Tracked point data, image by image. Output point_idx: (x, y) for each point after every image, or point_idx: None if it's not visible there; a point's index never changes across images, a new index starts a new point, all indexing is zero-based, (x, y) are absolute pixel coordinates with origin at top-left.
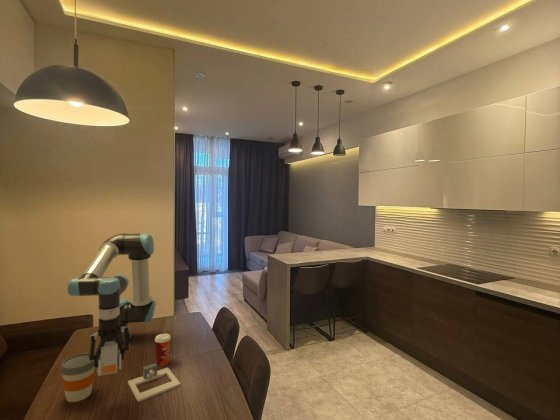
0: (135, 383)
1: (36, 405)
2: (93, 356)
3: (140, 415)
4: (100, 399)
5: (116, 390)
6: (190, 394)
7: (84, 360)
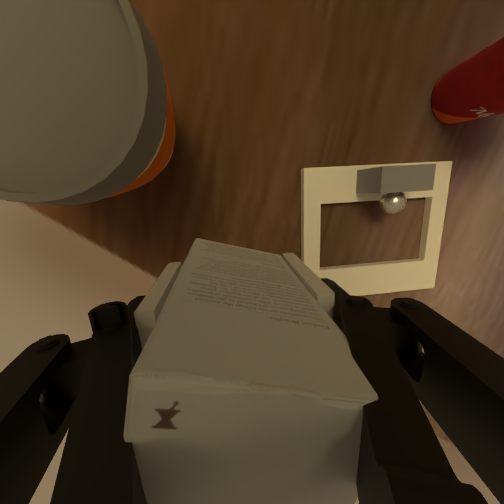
0: (322, 203)
1: None
2: (69, 423)
3: None
4: (202, 216)
5: (257, 192)
6: None
7: (58, 68)
